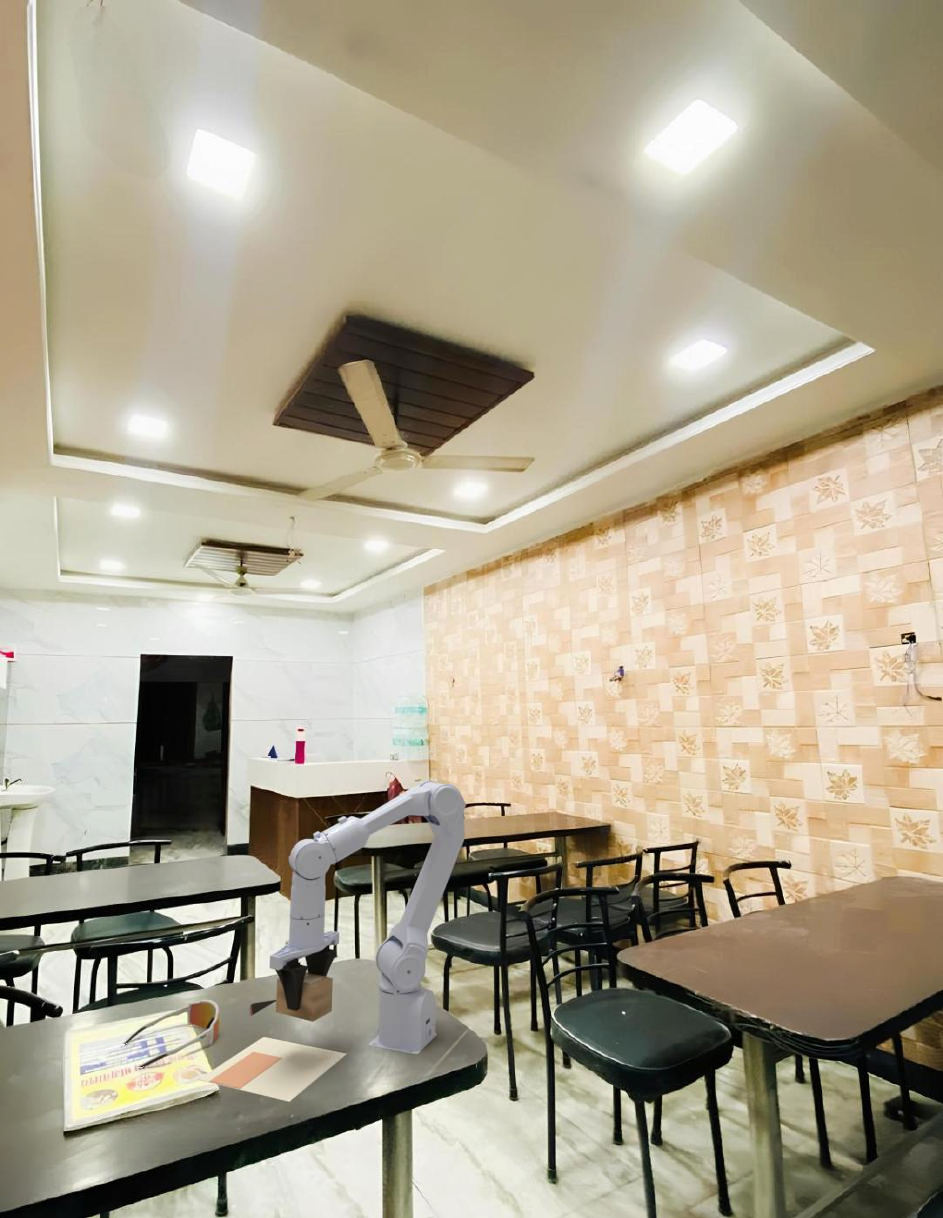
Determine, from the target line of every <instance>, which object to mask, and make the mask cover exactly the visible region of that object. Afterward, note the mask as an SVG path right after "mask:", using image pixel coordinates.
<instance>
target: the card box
mask: <svg viewBox="0 0 943 1218" xmlns="http://www.w3.org/2000/svg"><path fill="white" fill-rule="evenodd" d="M333 980H334V979H333V977H330V976H327V977H325V976H321V975H316V974H312V973H308V971H306V974H305V977H304V981H303V986H302V996H301V1004H300V1009H299V1010H297V1011H294V1010H291V1009H287V1004H286V998H285V994H284V990H283V986H282V983H281V981H280V978H279V977H278V978H277V979H276V999H275V1000H276V1001H275V1012H276V1013H278V1014H281V1015H285V1016H289V1017H292V1018H293V1017H294V1018H297V1019H301V1020H304V1021H308V1022H312V1023H313V1022H316V1021H318V1020H319V1019H321V1018H322V1017H324V1016H326V1015H327V1014H329V1013H331V1012H333V984H334V983H333V982H334V981H333Z"/></svg>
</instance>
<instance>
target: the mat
mask: <svg viewBox="0 0 943 1218" xmlns="http://www.w3.org/2000/svg"><path fill="white" fill-rule="evenodd" d="M346 1055H347V1053H345V1052H339V1051H335V1050H331V1049H325V1048H320V1047H315V1046H311V1045H305V1044H300V1043H296V1042H292V1041H286V1040H281V1039H276V1038H271V1037H265V1036H263V1037H261V1038H260V1039H258V1040H256V1041H255V1042H254V1043H252V1044H251V1045H248V1046H247V1047H245V1049H244V1048H243V1050H241V1051H240V1052H238V1053H237V1054H235V1055H233V1056H232V1057H230V1058H229V1059H227V1060H225V1061H224V1062H223V1063H221V1064H220V1065H219V1066H217V1067H215V1068H214V1069H212V1070H210V1071H208V1072H207V1073H206V1074H205V1075H203V1076H202V1077H200V1078H198V1079H197V1080H198V1081H202V1082H204V1083H205V1082H206V1083H210V1084H215V1085H217V1086H218V1085H219V1086H222V1087H227V1088H230V1089H235V1090H238V1091H243V1092H247V1093H252V1094H255V1095H259V1096H263V1097H267V1098H272V1099H276V1100H279V1101H280V1100H281V1101H284V1102H286V1103H287V1102H288V1103H290V1102H291V1101H292V1100H294V1099H295V1098H296V1097H297V1096H298V1095H300V1094H301V1093H302V1092H303V1091H304V1090H306V1089H307V1088H308V1087H309V1086H311V1085H312V1084H313V1083H314V1082H315V1081H317V1080H318V1079H319V1078H320V1077H321V1076H322V1075H324V1074H325V1073H326V1072H327V1071H328V1070H330V1069H331V1068H332V1067H333V1066H335V1065H336V1064H337V1063H338V1062H339V1061H340V1060H342V1058H344V1057H345V1056H346Z"/></svg>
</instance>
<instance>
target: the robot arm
mask: <svg viewBox="0 0 943 1218" xmlns="http://www.w3.org/2000/svg"><path fill="white" fill-rule="evenodd" d="M465 801H466V800H465V799H464V798H463V795H462V794H461V791H460V790H459V788H458V787H456V786H455V785H454V784H450V783H440V782H436V781H433V780H426V781H424V782H422V783H420V784H419V785H415V786H413V787H410V788H409V789H407V790H406V791H404V792H403V793H400V795H397V796H396V797H394V798H393V799H391V800H389V801H388V802H386V803H384V804H382V805H381V806H380V807H378V808H376V809H375V810H373V811H371V812H369V813H368V814H367V815H365V816H363V817H361V818H359V817H355V816H352V815H351V816H349V817H348V818H347V817H346V816H344V815H343V816H341V817H340V818H338V819H337V821H338V823H336V824H334V825H333V826H330V827H329V828H327V829H325V830H323V831H321V832H320V831H315V832H314V833H313V838H305V839H302V840H299V841H298V842H297V843H296V844H295V845H294V846H293V848H291V851H290V855H289V856H288V863H289V866H290V867H291V869H292V870H293V871H292V875H291V876H292V878H291V887H290V903H289V904H290V906H289V907H290V908H289V933H288V935H289V936H288V938H289V939H287V940H286V941H285V945H284V946H283V947H281V948H280V949H278V950H277V951H276V952H273V953H272V954H270V955H269V967H268V968H269V969H271V970H274V971H275V972H276V974H277V976H278V978H280V981H281V983H282V986H283V990H284V994H285V998H286V1004H287V1009H291V1010H294V1011H297V1010H299V1009H300V1004H301V996H302V986H303V981H304V977H305V974H306V972H307V973H312V974H316V975H321V976H325V977H328V973H329V971H330V968H331V966H332V964H333V961H334V960H335V958H336V957H337V951H336V949H332V948H330V947H331V946H337V945H340V932H339V931H334V930H330V931H326V932H325V926H326V925H325V920H326V919H325V917H326V915H325V914H326V913H325V912H326V889H327V888H326V873H327V872H328V871H329V869H330V866H331V865H334V864H336V863H338V862H340V861H341V860H343V859H345V858H346V857H349V856H350V855H351V854H354V853H356V852H357V851H359V850H361V849H362V848H364V847H365V846H366V845H367V843H368V840H369V838H370V835H373V834H374V833H377V832H378V831H381V830H383V829H384V828H386V827H389V826H390V825H392V824H395V823H396V822H398V821H400V820H403V819H404V818H407V816H419V817H424V818H425V819H426V820H427V822H428V824H429V827H430V829H431V832H432V834H433V840H432V842H431V844H430V847H429V850H428V852H427V855H426V857H425V860H424V862H423V865H422V867H421V870H420V871H419V875H418V877H417V880H416V881H415V884H414V887H413V889H412V892H411V894H410V895H409V899H408V902H407V904H406V906H405V909H404V911H403V914H402V916H401V919H400V921H399V922H397V923H396V924H395V925H394V926H393V927H391V930H390V932H389V934H388V936H387V938H386V939H385V940H383V942H382V943H381V944H380V945H379V947H378V948H377V950H376V954H375V963H376V964H375V965H376V967H377V969H378V971H379V972H380V973H381V976H380V979H379V985H378V986H379V988H378V1035H377V1036H375V1038H374V1039H372V1040H371V1041H370V1042H369V1043H368V1046H372V1047H378V1048H382V1049H386V1050H393V1051H397V1052H403V1053H408V1054H413V1055H417V1054H418V1055H419V1053H420V1052H422V1051H423V1049H424V1048H425V1047H427V1045H428V1044H429V1043H430V1042H431V1041H432V1040H433V1039H435V1037H436V1036H437V1035H438V1034H437V1032H436V997H435V993H434V991H433V990H431V989H428V988H426V987H424V986H423V985H422V982H423V980H424V977H425V975H426V974H425V973H426V959H427V955H428V953H429V951H430V949H429V941H428V940H429V939H428V933H429V931H430V929H431V925H432V923H433V921H434V918H435V915H436V912H437V910H438V908H439V905H440V902H441V900H442V898H443V894H444V891H445V889H446V887H447V884H448V882H449V880H450V878H451V874H452V872H453V869H454V867H455V864H456V861H457V859H458V856H459V853H460V851H461V849H462V847H463V843H464V841H465V836H466V834H465V817H464V816H465V815H464V814H465V813H464V811H465V808H466V806H467V804H466V802H465ZM300 959H305V963H306V965H304V964H302V963H301V961H299V960H300Z"/></svg>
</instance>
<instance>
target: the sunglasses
mask: <svg viewBox="0 0 943 1218" xmlns="http://www.w3.org/2000/svg"><path fill="white" fill-rule="evenodd" d="M186 1012H187V1026H188V1025H192V1026H191V1027H201V1028H205V1029H206V1030H204V1031H203V1032H202V1033H200V1034H198V1035H197V1036H196V1037H194V1038H192V1039H191V1040H189V1041H187V1042H186V1043H184V1044H181V1045H179V1046H177V1047H175V1048H173V1049H170V1050H167V1051H165V1052H163V1053H161V1054H159V1055H157V1056H155V1057H153V1058H151V1059H149V1060H147V1061H145V1062H143V1063H141V1064H139V1065H138V1066H137V1067H143V1066H144V1068H146V1067H148V1066H150V1065H152V1064H154V1063H156V1062H159V1061H161V1060H162V1059H165V1058H166V1057H169V1056H172V1055H176V1054H177V1053H178V1052H180V1051H181V1050H183V1049H184V1050H185V1048H187V1047H189V1046H191V1045H193V1044H196V1043H199V1042H202V1041H204V1040H205V1039H206V1038H208V1037H209V1039H208V1046H212V1045H213V1043H215V1041H216V1040H217V1039H218V1035H219V1030H220V1014H219V1013H220V1008H219V1005H218V1003H217V1002H215V1001H214V1000H211V999H201V1000H198V1001H192V1002H190V1003H189V1004H188V1005H185V1006H183V1007H180V1008H177V1009H176V1010H173V1011H171V1012H168V1013H167V1014H164V1015H162V1016H160V1017H158V1018H156V1019H153V1020H152V1021H149V1022H148V1023H145V1024H144V1025H142V1026H140V1027H139V1028H138V1029H137V1030H135V1031H134V1032H133V1033H132V1034H131V1035H130V1036H129V1037H128V1038H127V1039H125V1041H124V1042H123V1043H122V1044H126V1043H128V1042H129V1041H130V1042H131V1041H132V1040H133V1039H134V1038H135V1037H136V1036H138V1035H139V1034H140V1033H142V1032H143V1031H145V1030H146V1029H149V1028H150V1027H153V1026H155V1025H156V1024H158V1023H159V1022H162V1021H163V1020H166V1019H168V1018H170V1017H176V1016H180V1015H182V1014H184V1013H186ZM130 1042H129V1043H130ZM129 1043H128V1044H129ZM126 1045H127V1044H126ZM145 1066H146V1067H145Z"/></svg>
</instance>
